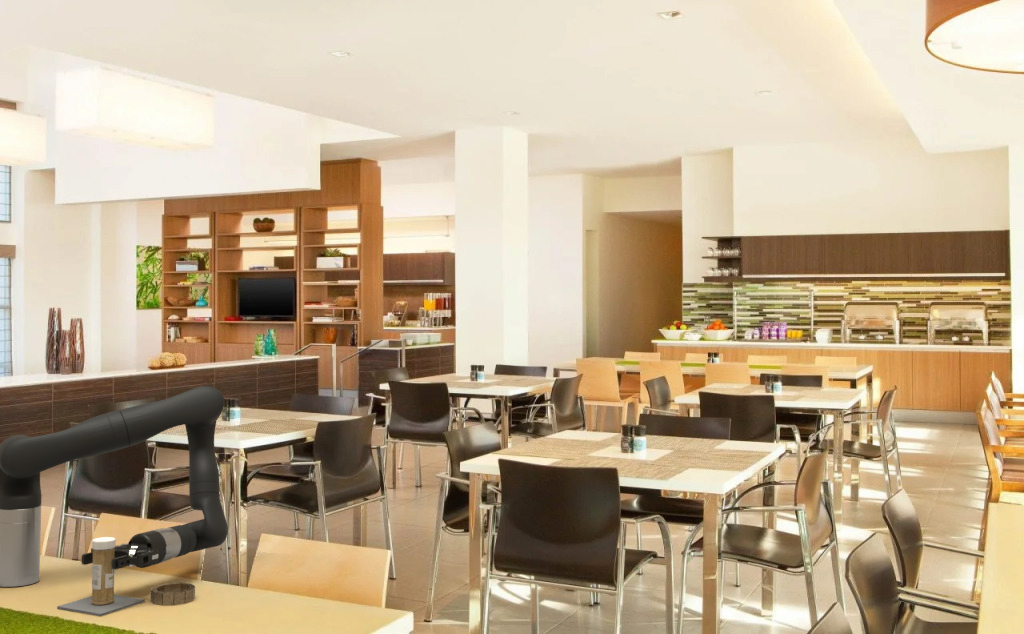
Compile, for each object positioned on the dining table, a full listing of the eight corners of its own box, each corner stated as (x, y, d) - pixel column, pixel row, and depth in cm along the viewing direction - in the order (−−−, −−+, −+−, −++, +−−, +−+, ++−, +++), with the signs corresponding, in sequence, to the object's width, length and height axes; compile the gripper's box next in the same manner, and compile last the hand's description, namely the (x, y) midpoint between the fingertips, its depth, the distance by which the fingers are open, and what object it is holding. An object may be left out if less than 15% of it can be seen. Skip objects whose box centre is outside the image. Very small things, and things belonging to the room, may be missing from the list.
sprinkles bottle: (116, 603, 203) (117, 539, 203) (93, 607, 200) (94, 541, 201) (111, 598, 207) (113, 535, 207) (88, 601, 204) (90, 537, 204)
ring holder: (142, 602, 206) (142, 590, 206) (171, 592, 214) (171, 580, 214) (174, 607, 203) (174, 595, 203) (203, 597, 211) (203, 585, 211)
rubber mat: (57, 608, 200) (57, 606, 200) (102, 594, 211) (102, 592, 211) (100, 616, 196) (100, 614, 196) (144, 601, 207) (144, 599, 207)
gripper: (131, 527, 220) (73, 540, 205) (180, 533, 215) (124, 547, 200) (130, 560, 220) (72, 576, 205) (179, 567, 214) (123, 584, 200)
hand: (97, 562), depth 202 cm, fingers open, 8 cm apart
